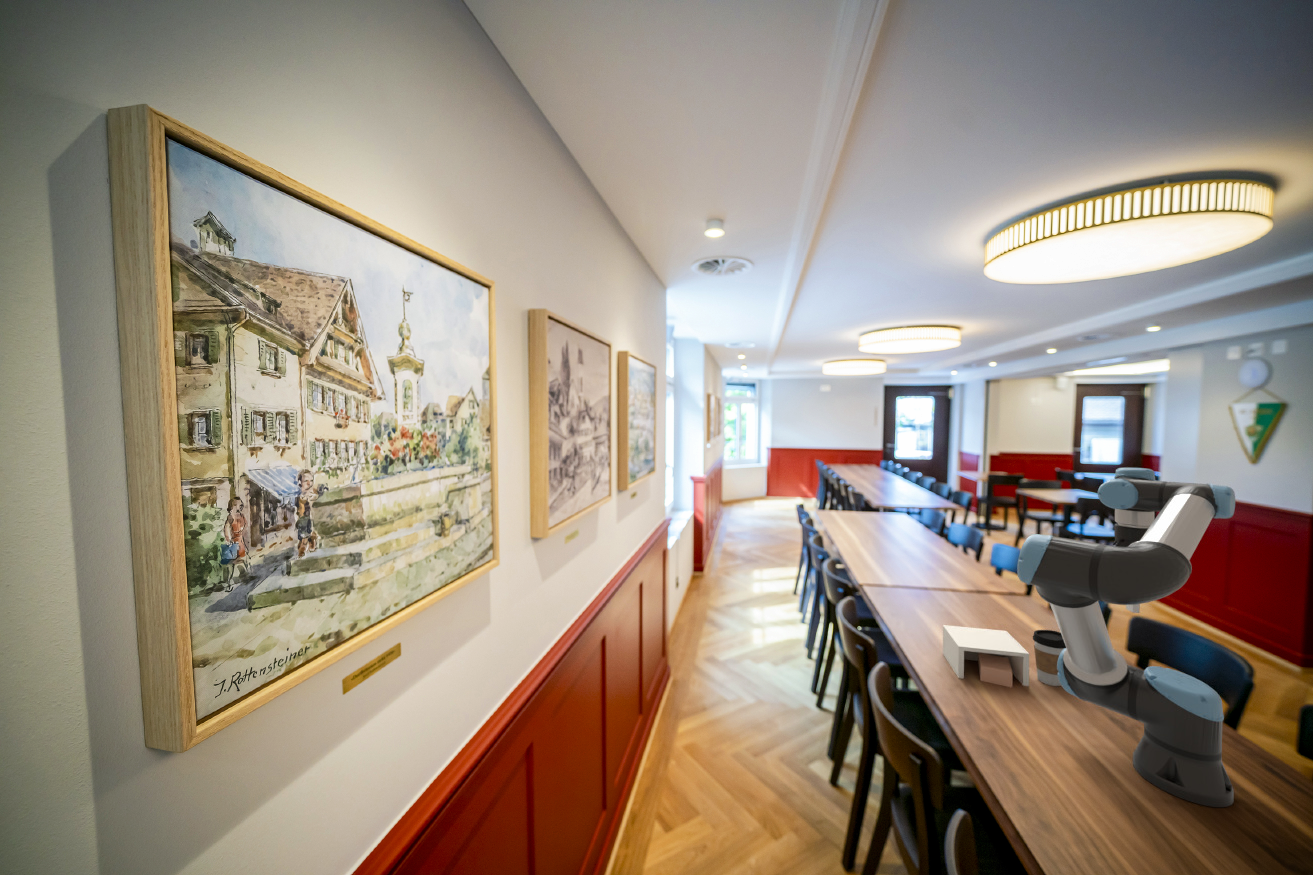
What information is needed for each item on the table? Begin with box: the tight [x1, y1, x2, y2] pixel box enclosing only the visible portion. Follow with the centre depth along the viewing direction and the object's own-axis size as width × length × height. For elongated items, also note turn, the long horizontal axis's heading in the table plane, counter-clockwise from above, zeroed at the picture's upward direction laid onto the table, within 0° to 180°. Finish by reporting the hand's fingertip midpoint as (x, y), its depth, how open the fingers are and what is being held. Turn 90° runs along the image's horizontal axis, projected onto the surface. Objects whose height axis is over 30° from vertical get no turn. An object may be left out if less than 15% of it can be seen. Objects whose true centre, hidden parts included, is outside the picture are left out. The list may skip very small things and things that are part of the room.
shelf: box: [942, 624, 1030, 687], centre depth 153 cm, size 16×19×10 cm
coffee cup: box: [1032, 629, 1066, 687], centre depth 146 cm, size 8×8×15 cm
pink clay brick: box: [977, 652, 1013, 688], centre depth 149 cm, size 10×8×5 cm
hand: (1132, 610), depth 127 cm, fingers closed
